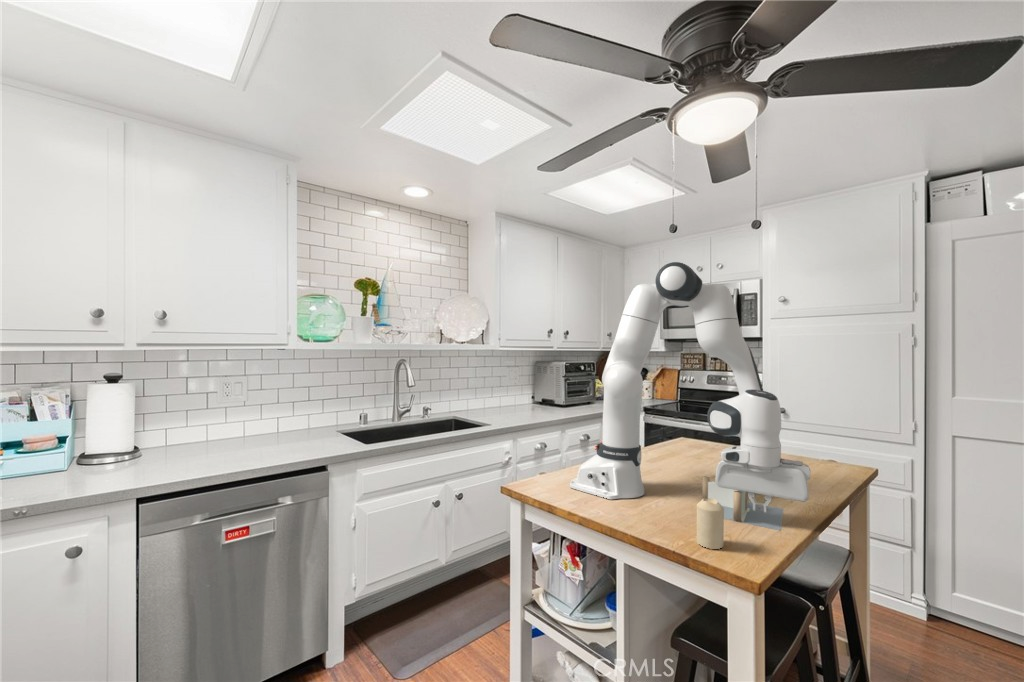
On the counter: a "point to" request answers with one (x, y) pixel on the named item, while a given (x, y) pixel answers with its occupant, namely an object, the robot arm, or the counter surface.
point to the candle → (710, 523)
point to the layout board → (758, 516)
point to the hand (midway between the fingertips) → (759, 511)
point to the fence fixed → (718, 493)
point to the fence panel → (738, 504)
